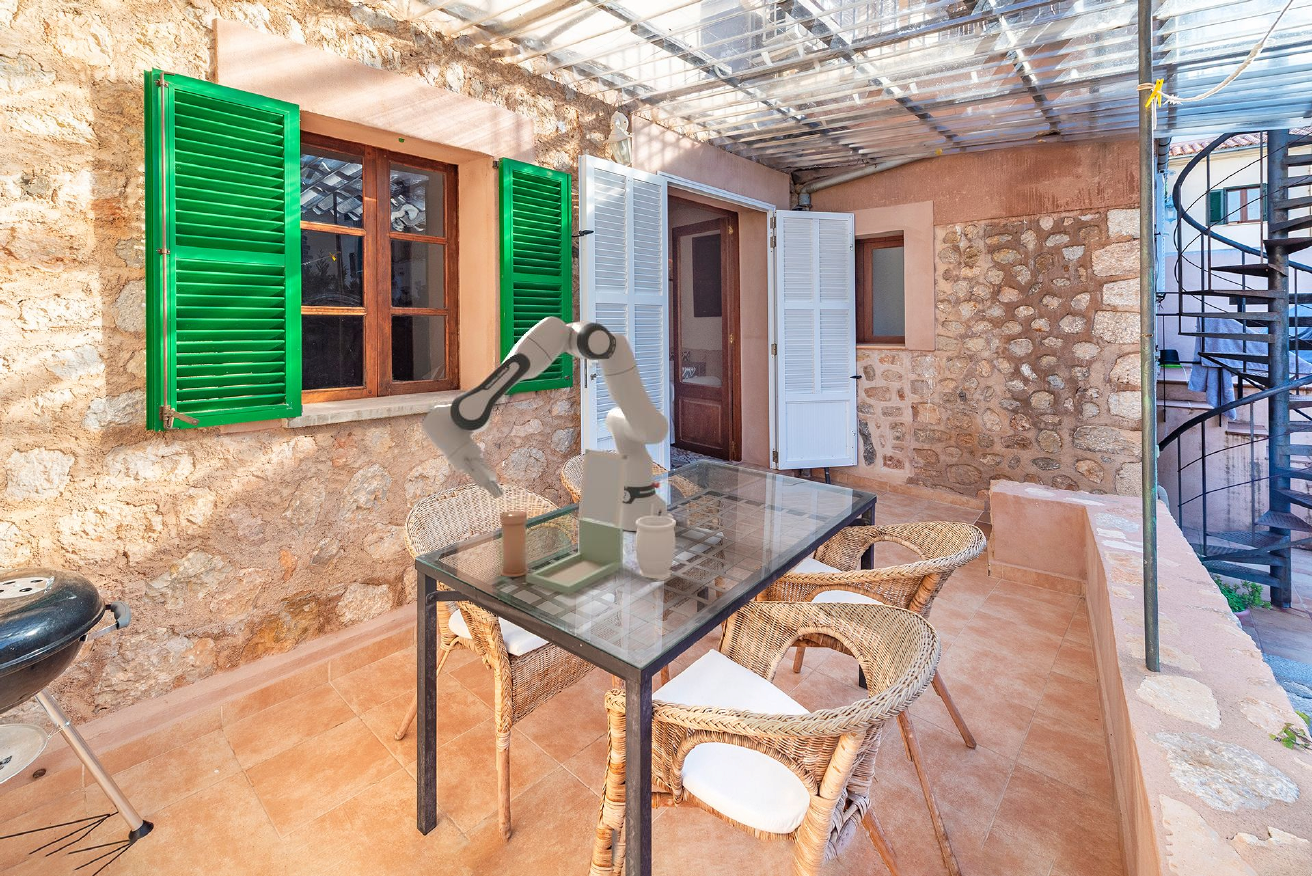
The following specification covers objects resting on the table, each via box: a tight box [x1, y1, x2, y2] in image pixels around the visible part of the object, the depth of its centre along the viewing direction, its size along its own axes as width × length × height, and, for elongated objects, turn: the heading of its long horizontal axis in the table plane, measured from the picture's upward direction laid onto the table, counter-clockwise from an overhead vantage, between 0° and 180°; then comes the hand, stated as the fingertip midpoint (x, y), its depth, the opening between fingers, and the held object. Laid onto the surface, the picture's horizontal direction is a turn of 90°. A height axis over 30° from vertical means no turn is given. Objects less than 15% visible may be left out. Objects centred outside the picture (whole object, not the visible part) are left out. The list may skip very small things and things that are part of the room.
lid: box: [577, 448, 628, 527], centre depth 171 cm, size 19×14×1 cm
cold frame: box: [525, 518, 624, 596], centre depth 165 cm, size 22×14×12 cm, turn 147°
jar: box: [635, 516, 677, 582], centre depth 167 cm, size 11×10×15 cm
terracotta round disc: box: [499, 565, 530, 578], centre depth 167 cm, size 8×8×1 cm
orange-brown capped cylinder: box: [499, 510, 528, 574], centre depth 166 cm, size 7×7×15 cm
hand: (500, 496), depth 177 cm, fingers open, 8 cm apart
